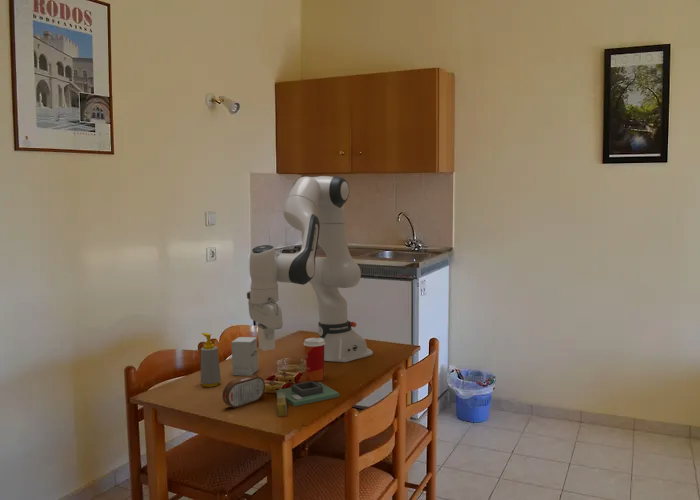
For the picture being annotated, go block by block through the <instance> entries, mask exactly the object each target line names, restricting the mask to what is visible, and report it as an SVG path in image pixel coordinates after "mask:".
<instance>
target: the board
mask: <svg viewBox="0 0 700 500" xmlns="http://www.w3.org/2000/svg"><path fill="white" fill-rule="evenodd" d="M280 391H285V394H286V403H289V404H290V405H291V406H293V407H298V406H302V405H307V404H312V403H316V402H322V401H326V400H330V399H331V400H332V399H336V398H339V397H340V393H339V392H338V391H336V390H335V389H333V388H331V387H329V386H327V385H326V384H324V383H322V382H321V381H309V380H307V381H304V382H299V383H294V384H291V387H287V388H286V387H285V388H281V389H277V390H275V394H276V395H277V392H280Z"/></svg>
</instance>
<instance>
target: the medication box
mask: <svg viewBox="0 0 700 500" xmlns="http://www.w3.org/2000/svg"><path fill="white" fill-rule="evenodd" d="M276 401H277V403H276V405H277V406H276V407H277V417H287V415H288V413H287V411H288V409H287V401H286V394H285V391H280V392H277V394H276Z"/></svg>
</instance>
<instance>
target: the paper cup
mask: <svg viewBox="0 0 700 500" xmlns="http://www.w3.org/2000/svg"><path fill="white" fill-rule="evenodd" d="M324 344H325V342H324V339H322V338H319V337H309V338H305V339H304V342H303V346H304V353H305V354H304V356H305V367H306V369H305V370H306V376H307V377H306V378H307V381H314V382H321V381H323V380H324V376H325V375H324V372H325V361H324Z"/></svg>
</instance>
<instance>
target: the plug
mask: <svg viewBox="0 0 700 500" xmlns="http://www.w3.org/2000/svg"><path fill="white" fill-rule="evenodd" d="M275 331H276V330H274V333H273V340H268V339H266V334H267V327H266V326H264V325H262V324H258V323H257V333H258V335H257V336H258V338H257V339H258V349H259V350H261V351H263V352H266V351H270V350H271V351H272V350H276V338H275V337H276V336H275V335H276V333H275Z"/></svg>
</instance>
